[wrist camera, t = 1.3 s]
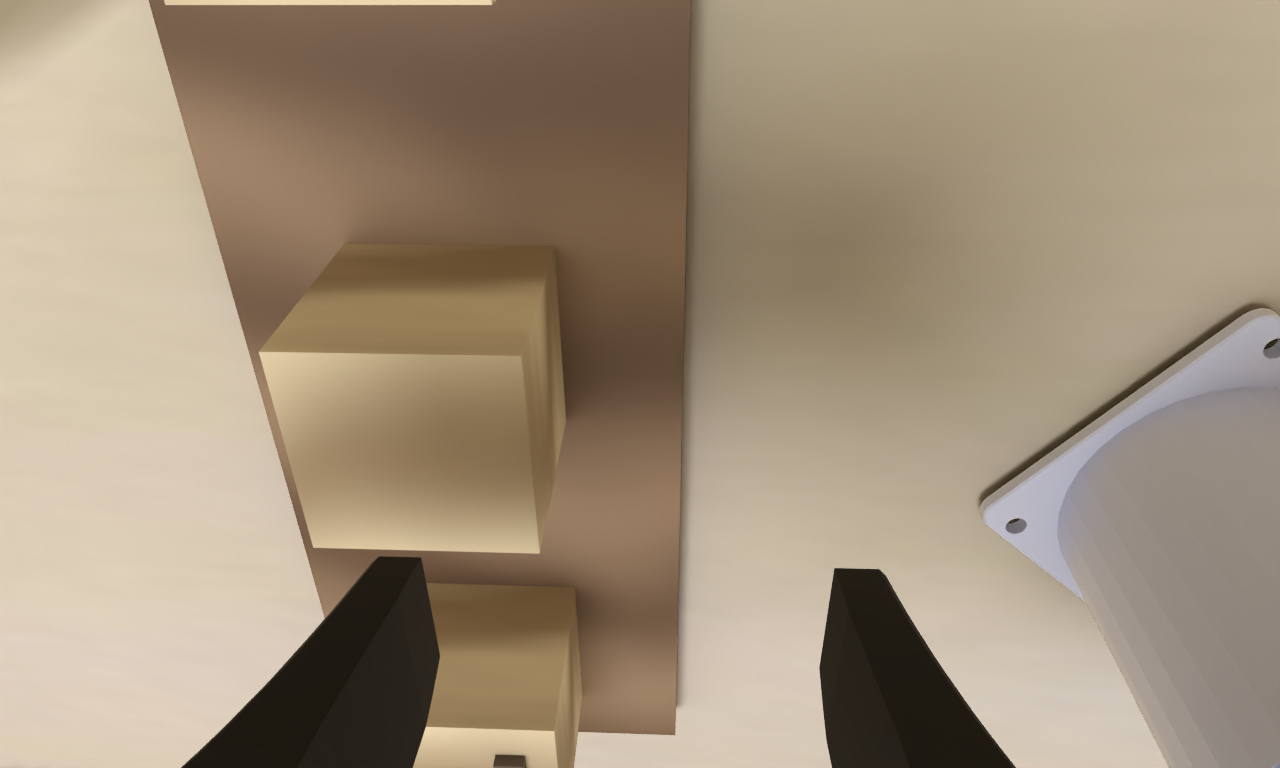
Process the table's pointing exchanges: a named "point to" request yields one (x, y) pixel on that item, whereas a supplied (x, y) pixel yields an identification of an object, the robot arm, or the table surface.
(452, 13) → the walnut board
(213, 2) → the block one
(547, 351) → the plain block
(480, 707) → the block seven
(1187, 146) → the table surface
